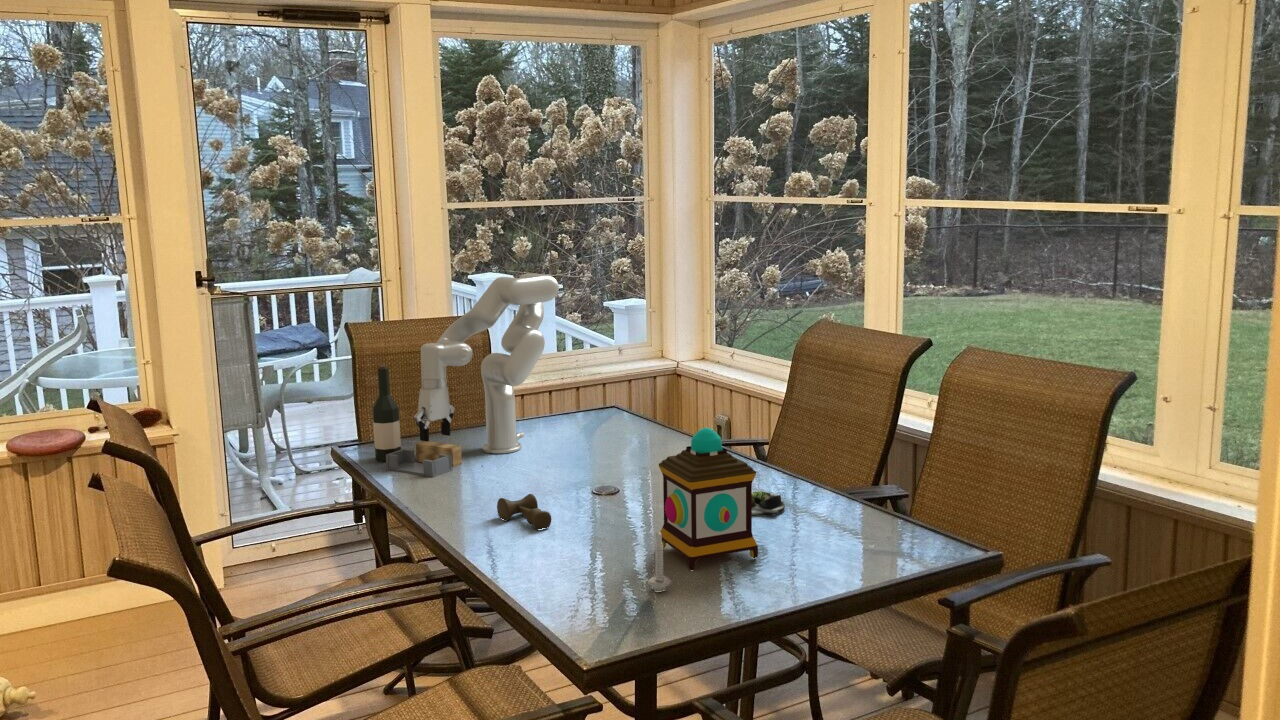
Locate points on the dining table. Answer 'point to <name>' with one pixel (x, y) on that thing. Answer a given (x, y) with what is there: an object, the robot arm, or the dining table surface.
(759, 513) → the salad plate
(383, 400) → the wine bottle
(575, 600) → the dining table surface
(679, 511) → the decorative lantern
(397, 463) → the end-cap rail
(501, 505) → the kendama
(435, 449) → the slat
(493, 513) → the dining table surface
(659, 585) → the screw
